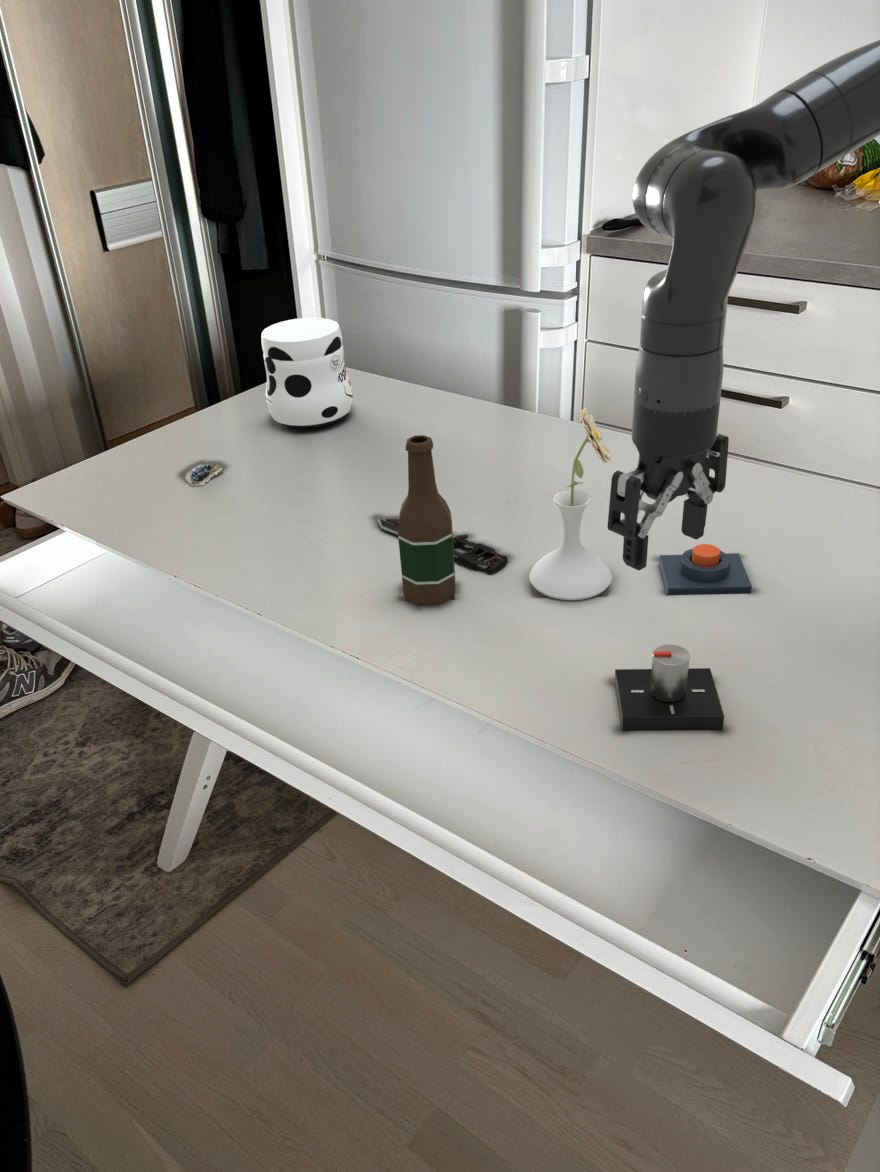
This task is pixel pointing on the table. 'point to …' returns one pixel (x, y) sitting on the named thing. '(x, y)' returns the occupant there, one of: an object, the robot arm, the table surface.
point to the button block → (703, 575)
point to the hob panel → (667, 703)
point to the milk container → (306, 373)
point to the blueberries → (202, 474)
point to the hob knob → (669, 673)
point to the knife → (460, 541)
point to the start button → (706, 555)
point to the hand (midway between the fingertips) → (664, 550)
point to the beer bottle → (425, 532)
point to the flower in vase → (574, 538)
